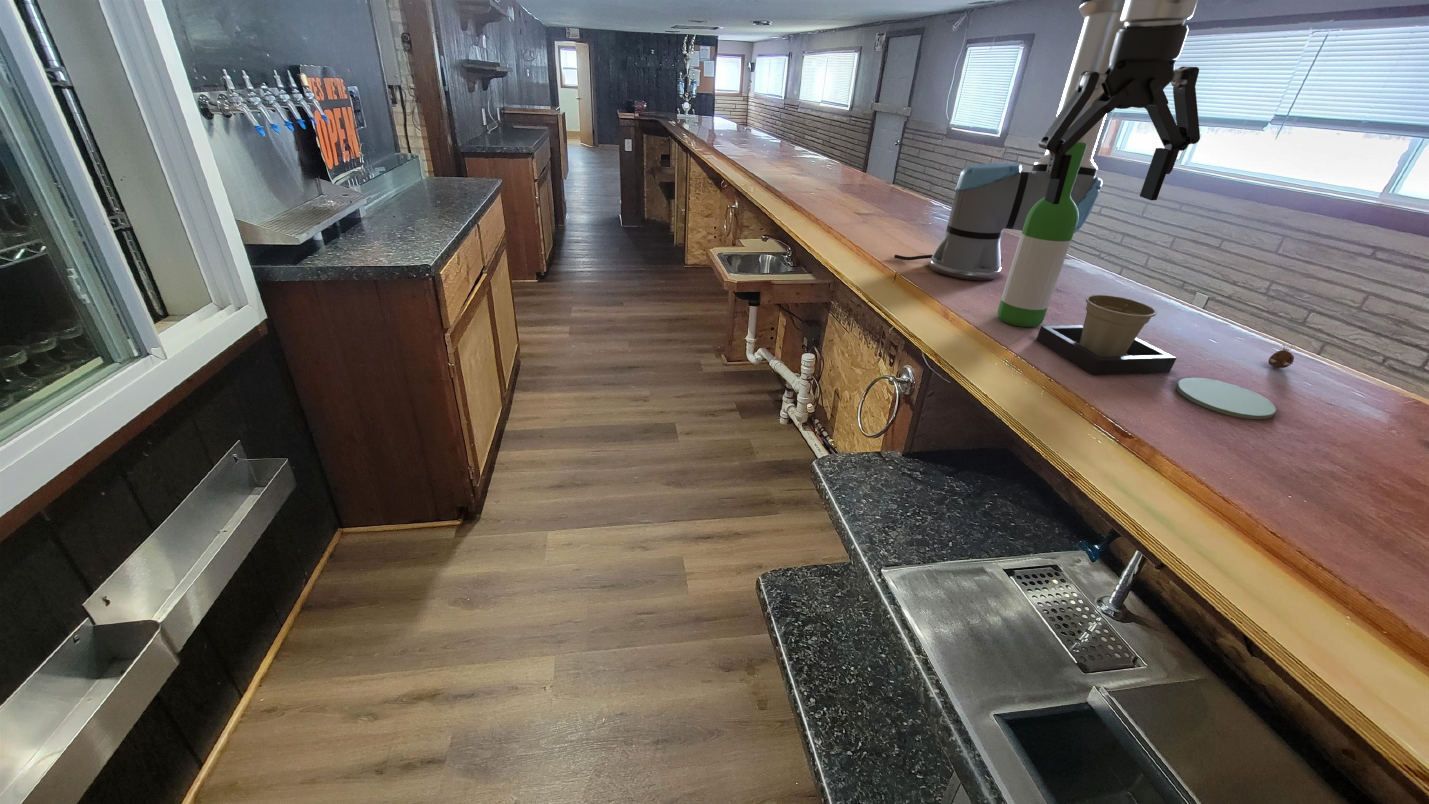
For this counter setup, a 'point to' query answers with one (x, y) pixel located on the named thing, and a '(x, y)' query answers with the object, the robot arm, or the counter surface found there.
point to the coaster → (1226, 398)
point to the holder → (1140, 361)
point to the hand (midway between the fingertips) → (1099, 200)
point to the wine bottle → (1041, 253)
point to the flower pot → (1113, 324)
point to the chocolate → (1282, 358)
